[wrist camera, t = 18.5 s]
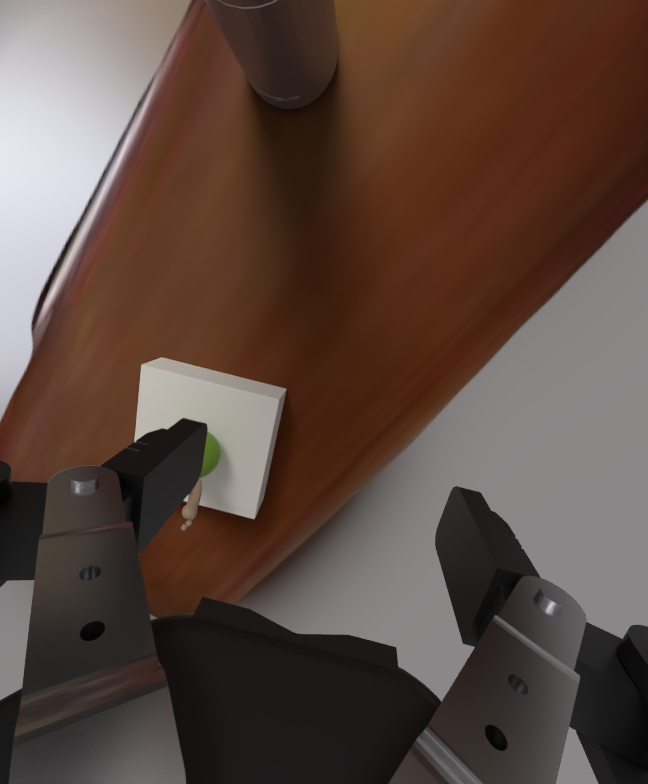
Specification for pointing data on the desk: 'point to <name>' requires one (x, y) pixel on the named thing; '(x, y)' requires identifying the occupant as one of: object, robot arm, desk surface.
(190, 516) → the snail figurine
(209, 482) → the cream block
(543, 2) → the desk surface
